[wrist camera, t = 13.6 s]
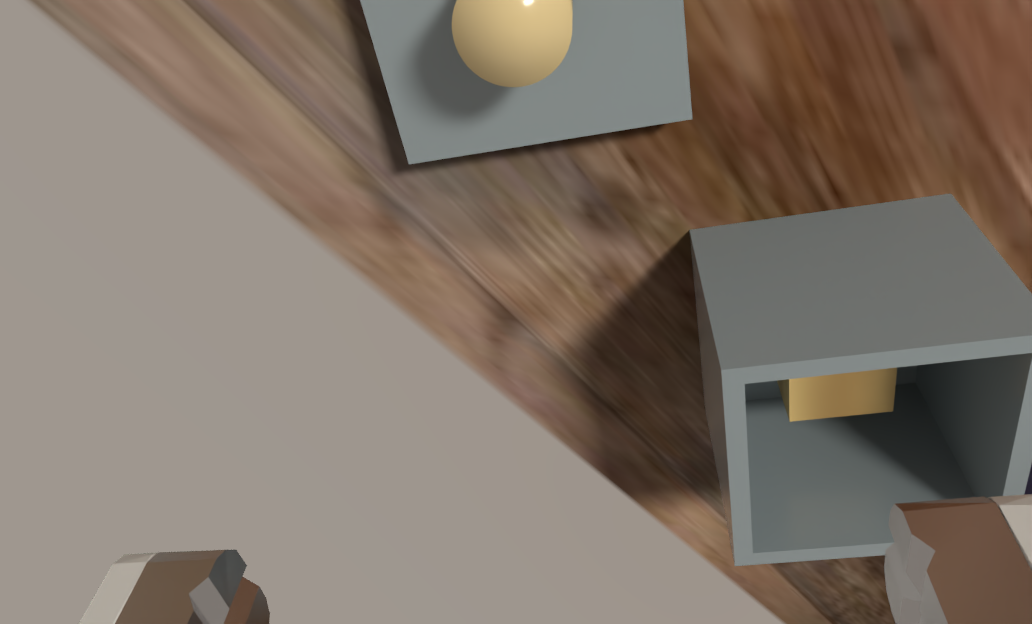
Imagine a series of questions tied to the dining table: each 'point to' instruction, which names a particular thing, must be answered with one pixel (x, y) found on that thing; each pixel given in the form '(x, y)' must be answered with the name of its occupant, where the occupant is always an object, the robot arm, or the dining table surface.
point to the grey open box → (853, 348)
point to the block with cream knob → (527, 70)
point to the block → (839, 394)
